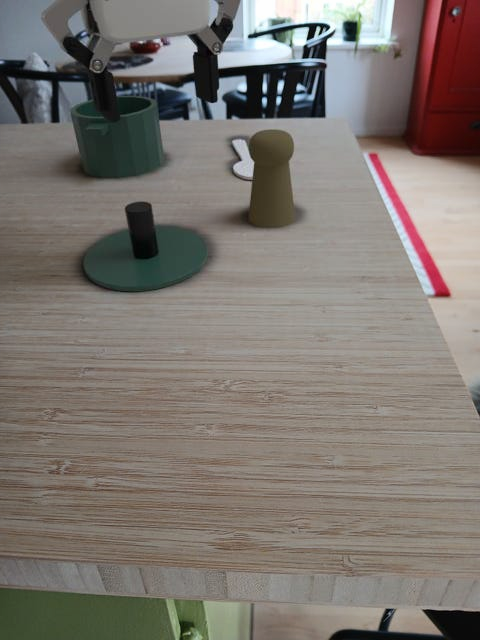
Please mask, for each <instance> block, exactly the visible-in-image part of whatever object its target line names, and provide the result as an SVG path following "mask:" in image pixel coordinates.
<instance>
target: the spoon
mask: <svg viewBox="0 0 480 640" xmlns="http://www.w3.org/2000/svg"><path fill="white" fill-rule="evenodd" d="M231 145H232V147H233V149H234V151H235V152H236V154H237V155H238V157H239V159H240V161H238V162H236V163H235V164H234V165H233V167H232V171H233V173H234V175H236V176H237V177H239V178H240V179H244V180H249V181H252V179H253V169H254V161H253V160H252V159H251V157H250V154H249V146H248V144H247V141H246V140H244V139H234V140H232V141H231Z"/></svg>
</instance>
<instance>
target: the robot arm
mask: <svg viewBox="0 0 480 640" xmlns="http://www.w3.org/2000/svg"><path fill="white" fill-rule="evenodd" d="M214 1H215V2H216V4H217V5H218V9H217V12H216V13H217V15H216V17H215V18H214V19H213V20H212V22H211V24H210V25H209V23H210V19H211V0H55V1H54V2H53V3H51V4H50V5H49V6H48V7H46V8H45V9H44V10H43V11H42V12H41V14H40V19H41V21H42V24H44V26H45V27H46V29H47V31H49V32H50V34H51V36H52V37H53V39H54V40H55V41H56V42H57V43H58V46H59V47H60V49H61V50H62V51H63V52H65V53H66V54H67V55H69V57H71V58H72V59H73V60H74V61H76V62H77V63H79V64H80V65H81V66H82V67H83V68H85V69H86V71H87V76H88V77H87V78H88V81H89V86H90V91H91V96H92V100H93V102H94V106H95V108H96V110H97V111H98V112H101V114H102V116H103V117H104V118H106V119H107V120H109V121H111V122H112V123H114V122H118V121H119V120H120V112H119V106H118V101H117V96H118V94H117V91H116V85H115V79H114V74H113V72H111V71H109V70H108V68H107V64H108V62H109V60H110V59H111V56H112V54H113V52H114V50H115V49H116V46H117V44H129V43H138V42H147V41H155V40H161V39H168V38H175V37H183V36H187V37H188V38H189V40H191V42H192V44H194V46H195V47H196V50H197V51H193V55H192V63H193V77H194V87H195V88H194V89H195V96H196V98H198V99H200V100H202V101H205V102H207V103H210V104H214V103H218V102H219V101H218V100H219V95H218V90H219V89H220V75H219V72H220V71H219V55H221V54H222V52H223V49H224V44H225V42H226V40H227V39H228V37H229V36H230V34H231V33H232V31H233V29H234V20H235V19H236V16H237V14H238V10H239V7H240V4H241V0H214ZM79 11H80V15H81V20H82V24H83V27H84V29H85V31H86V33H87V34H88V35H90V36H89V38H88V40H87V42H86V44H84V43H83V42H81V41H80V40H79V39H77V38H76V36H75V35H74V34H73V32H72V30H71V28H70V26H69V21H70V20H71V18H72V17H74V16H75V15H76V14H77V13H78V12H79Z"/></svg>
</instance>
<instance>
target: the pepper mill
mask: <svg viewBox="0 0 480 640" xmlns="http://www.w3.org/2000/svg"><path fill="white" fill-rule="evenodd" d="M248 150H249V154H250V157H251V159H252V160H253V161H254V169H253V179H252V180H251V188H250V189H251V190H250V198H249V199H250V200H249V210H248V221H249V223H250V224H252V225H254V226H256V227H259V228H265V229H277V228H283V227H286V226H289V225H291V224H292V223H294V221H295V220H296V211H295V205H294V204H295V203H294V195H293V194H294V193H293V184H292V177H291V167H290V160H291V159H292V158H293V155H294V152H295V143H294V139H293V137H292V135H291V134H290V133H289V132H288V131H285V130H282V129H273V128H272V129H263V130H259V131H257V132H255V133H254V134H252V135H251V137H250V138H249V144H248Z"/></svg>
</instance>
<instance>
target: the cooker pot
mask: <svg viewBox="0 0 480 640" xmlns="http://www.w3.org/2000/svg"><path fill="white" fill-rule="evenodd" d="M117 101H118V106H119V112H120V120H119V121H118V122H114V123H112V122H111V121H109V120H107V119H106V118H104V117H103V116H102V114H101V112H98V111H97V110H96V108H95V106H94V102H93V99H90V100H86V101H83V102H80V103H78V104H76V105H74V106H73V107H71V108H70V117H71V122H72V126H73V130H74V135H75V139H76V144H77V148H78V152H79V157H80V161H81V165H82V170H83V172H84V173H86V174H88V175H89V176H90V177H91V176H92V177H97V178H101V179H122V178H129V177H137V176H140V175H143V174H147V173H150V172H152V171H154V170H156V169H158V168H160V167H161V166H162V165H163V164H164V162H165V155H164V153H165V152H164V148H163V147H164V146H163V139H162V132H161V131H162V130H161V124H160V123H161V122H160V118H159V117H160V115H159V109H158V108H159V107H158V103H157V102H156V101H157V100H155V99H153V98H150V97H148V96H141V95H117Z"/></svg>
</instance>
